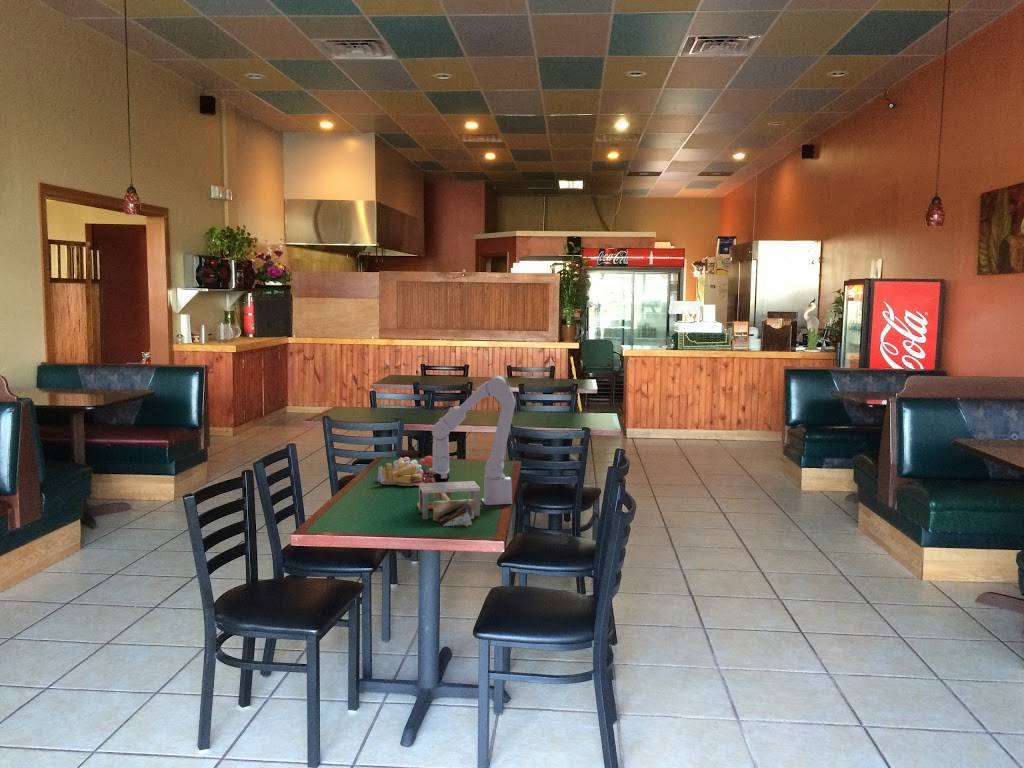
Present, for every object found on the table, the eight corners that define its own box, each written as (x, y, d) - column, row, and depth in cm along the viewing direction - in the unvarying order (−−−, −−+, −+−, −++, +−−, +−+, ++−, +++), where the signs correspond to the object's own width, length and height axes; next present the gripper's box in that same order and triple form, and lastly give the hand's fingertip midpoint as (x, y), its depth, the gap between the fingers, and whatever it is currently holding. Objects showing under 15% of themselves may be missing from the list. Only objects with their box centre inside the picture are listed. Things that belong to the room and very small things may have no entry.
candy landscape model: (435, 488, 305) (435, 464, 304) (372, 487, 305) (372, 463, 305) (442, 474, 330) (442, 452, 329) (384, 473, 330) (384, 451, 329)
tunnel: (473, 508, 275) (474, 481, 274) (480, 516, 265) (480, 487, 264) (419, 511, 271) (419, 483, 270) (423, 519, 261) (423, 490, 260)
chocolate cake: (435, 530, 251) (464, 504, 250) (432, 517, 258) (460, 492, 256) (456, 546, 255) (484, 521, 254) (453, 534, 262) (480, 509, 260)
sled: (460, 500, 285) (460, 483, 284) (474, 518, 261) (474, 500, 260) (423, 501, 282) (423, 484, 281) (433, 520, 258) (433, 502, 257)
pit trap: (469, 503, 282) (469, 500, 282) (472, 507, 276) (472, 504, 276) (417, 506, 277) (417, 502, 277) (419, 510, 272) (419, 506, 272)
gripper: (426, 452, 289) (426, 490, 291) (432, 460, 275) (432, 499, 277) (446, 452, 291) (446, 489, 292) (453, 459, 277) (453, 498, 278)
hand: (440, 494), depth 285 cm, fingers closed
